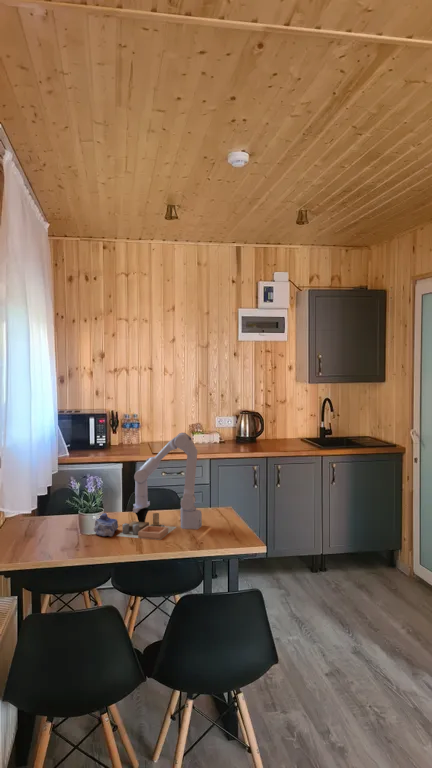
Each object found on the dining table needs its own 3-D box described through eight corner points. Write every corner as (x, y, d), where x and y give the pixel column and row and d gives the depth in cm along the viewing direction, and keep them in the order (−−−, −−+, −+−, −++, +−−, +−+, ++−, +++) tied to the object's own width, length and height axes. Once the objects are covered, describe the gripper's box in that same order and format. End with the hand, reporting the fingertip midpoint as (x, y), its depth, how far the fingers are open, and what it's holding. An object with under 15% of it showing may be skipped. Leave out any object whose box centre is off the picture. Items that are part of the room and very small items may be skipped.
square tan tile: (149, 527, 257) (149, 522, 257) (141, 532, 250) (141, 527, 250) (133, 526, 260) (133, 521, 260) (125, 531, 252) (125, 525, 252)
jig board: (176, 528, 258) (176, 518, 258) (160, 541, 239) (160, 530, 239) (135, 525, 264) (135, 515, 264) (115, 537, 245) (115, 526, 245)
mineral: (95, 511, 256) (117, 509, 256) (97, 530, 257) (119, 529, 258) (90, 523, 242) (113, 521, 242) (92, 544, 243) (115, 542, 244)
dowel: (160, 528, 256) (159, 513, 256) (157, 530, 254) (157, 514, 253) (154, 528, 257) (154, 512, 257) (152, 529, 254) (151, 514, 254)
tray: (168, 532, 249) (168, 527, 249) (159, 539, 240) (159, 533, 240) (147, 531, 252) (147, 525, 252) (138, 537, 243) (138, 531, 243)
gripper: (140, 491, 267) (140, 519, 268) (126, 498, 253) (127, 528, 254) (153, 492, 265) (154, 520, 266) (140, 499, 251) (141, 529, 252)
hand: (141, 524), depth 260 cm, fingers closed
